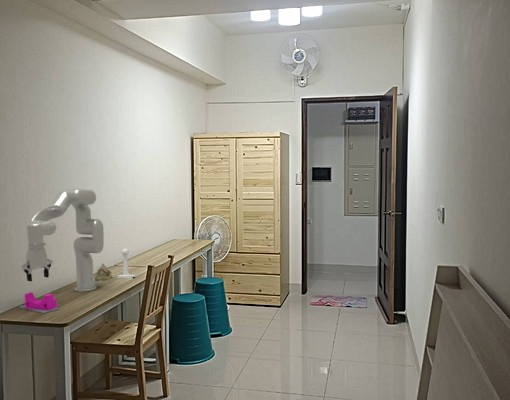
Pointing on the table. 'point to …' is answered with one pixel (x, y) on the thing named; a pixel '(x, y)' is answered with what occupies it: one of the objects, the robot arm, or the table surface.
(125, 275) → the joystick
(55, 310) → the mat
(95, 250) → the robot arm
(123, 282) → the table surface
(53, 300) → the toy block
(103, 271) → the ceramic model
